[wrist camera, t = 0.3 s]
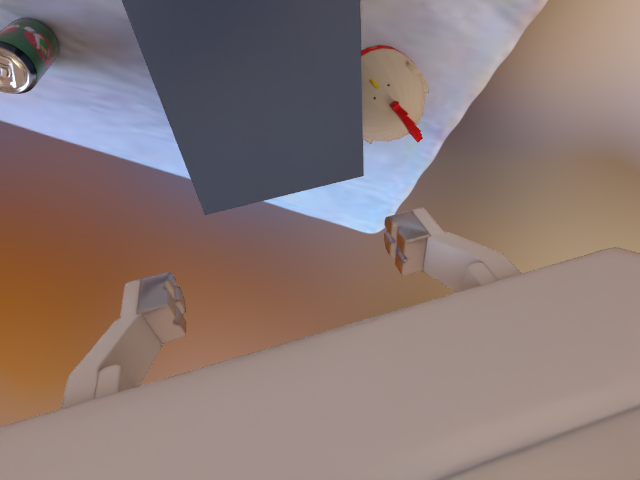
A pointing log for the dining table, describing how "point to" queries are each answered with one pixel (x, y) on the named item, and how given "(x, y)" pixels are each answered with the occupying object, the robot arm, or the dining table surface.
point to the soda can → (25, 54)
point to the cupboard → (257, 92)
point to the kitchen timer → (390, 95)
